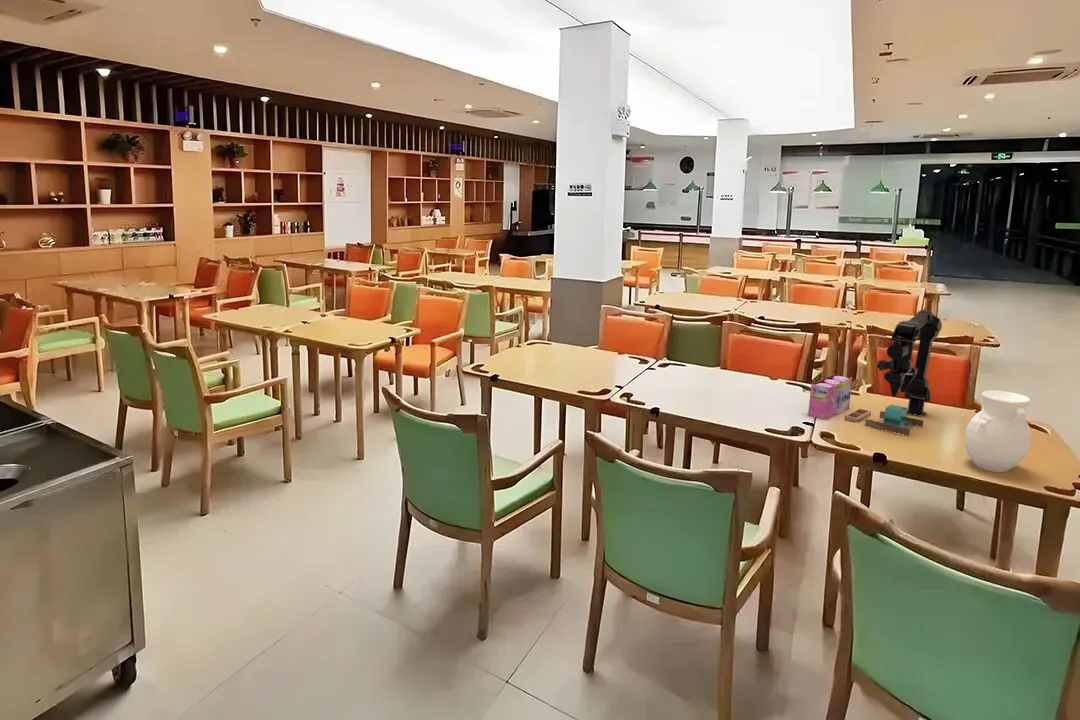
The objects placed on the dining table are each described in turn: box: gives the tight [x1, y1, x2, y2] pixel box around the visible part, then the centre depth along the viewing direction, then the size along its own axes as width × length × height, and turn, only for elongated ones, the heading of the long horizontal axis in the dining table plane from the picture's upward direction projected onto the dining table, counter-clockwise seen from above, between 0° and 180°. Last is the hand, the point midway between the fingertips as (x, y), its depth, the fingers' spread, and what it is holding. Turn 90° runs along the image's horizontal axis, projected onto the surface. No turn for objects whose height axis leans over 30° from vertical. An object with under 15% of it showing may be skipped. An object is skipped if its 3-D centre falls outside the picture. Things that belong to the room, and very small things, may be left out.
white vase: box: [963, 389, 1032, 473], centre depth 231 cm, size 19×18×25 cm
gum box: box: [807, 374, 853, 420], centre depth 289 cm, size 24×8×14 cm, turn 134°
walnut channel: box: [864, 410, 924, 437], centre depth 273 cm, size 16×16×2 cm
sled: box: [876, 404, 914, 429], centre depth 273 cm, size 13×10×7 cm
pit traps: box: [844, 408, 872, 423], centre depth 283 cm, size 14×5×2 cm, turn 135°
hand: (898, 394), depth 271 cm, fingers open, 9 cm apart
